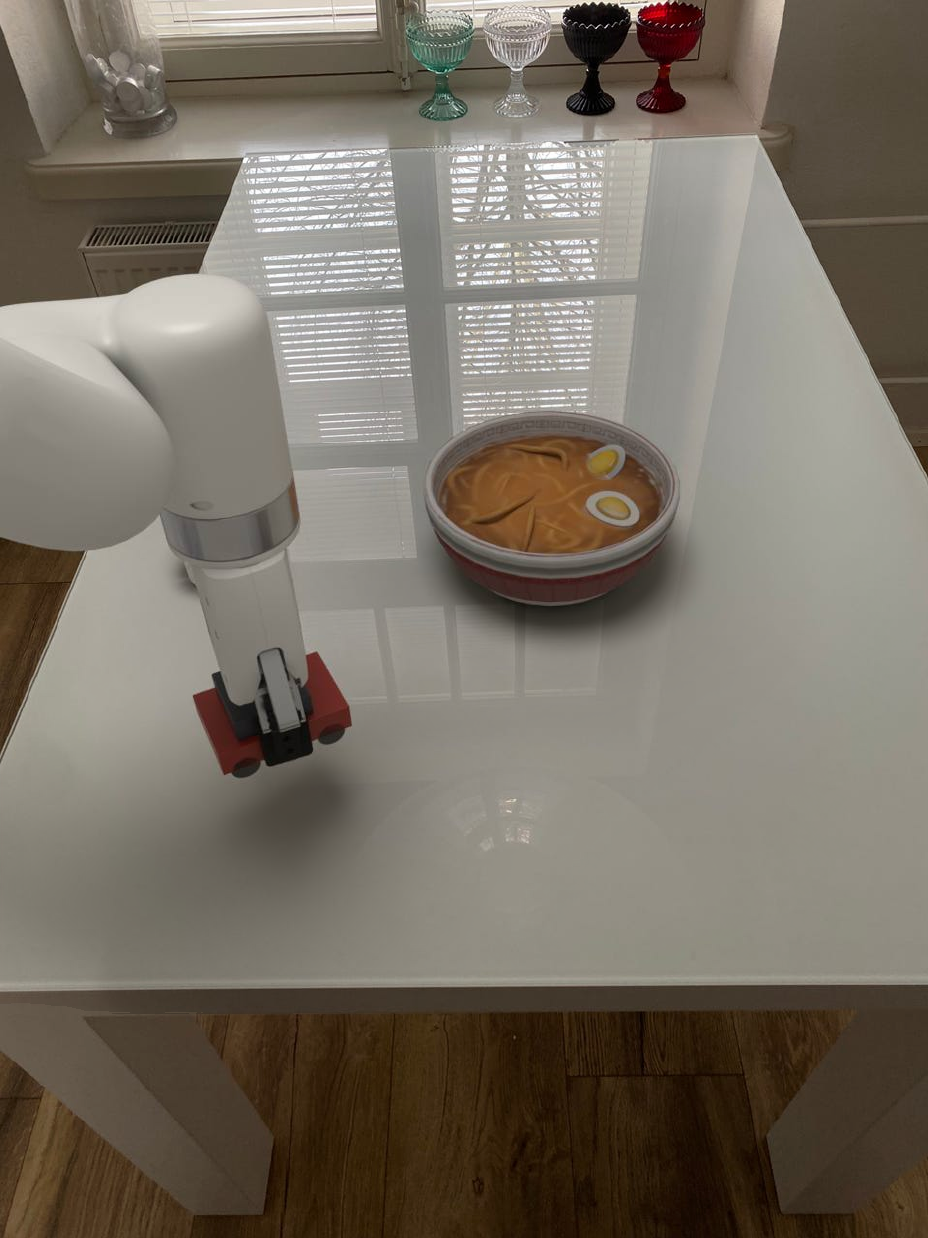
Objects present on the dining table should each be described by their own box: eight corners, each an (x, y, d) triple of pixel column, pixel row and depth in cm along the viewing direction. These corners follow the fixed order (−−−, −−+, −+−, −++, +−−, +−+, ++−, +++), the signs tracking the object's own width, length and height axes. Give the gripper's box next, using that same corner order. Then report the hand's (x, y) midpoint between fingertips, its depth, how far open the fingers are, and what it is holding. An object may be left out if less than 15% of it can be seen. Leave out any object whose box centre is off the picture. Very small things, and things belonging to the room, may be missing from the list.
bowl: (698, 525, 95) (712, 439, 89) (620, 678, 81) (630, 589, 74) (490, 472, 103) (489, 390, 96) (385, 602, 89) (375, 516, 82)
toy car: (212, 737, 59) (186, 676, 63) (226, 785, 63) (200, 724, 67) (347, 687, 62) (313, 632, 66) (353, 735, 66) (321, 680, 70)
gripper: (139, 444, 58) (198, 653, 70) (190, 621, 46) (251, 837, 59) (260, 418, 60) (297, 626, 73) (338, 582, 48) (367, 798, 61)
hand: (276, 719), depth 65 cm, fingers closed on toy car, 6 cm apart
